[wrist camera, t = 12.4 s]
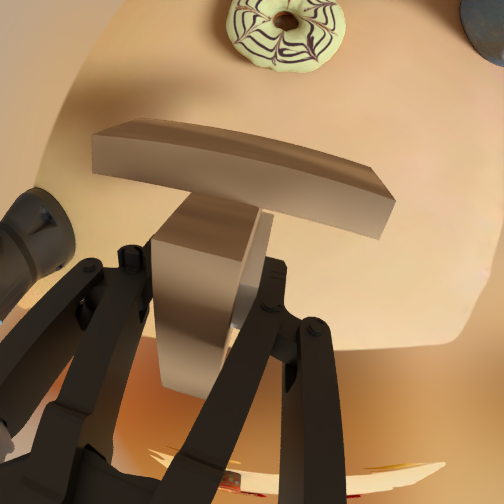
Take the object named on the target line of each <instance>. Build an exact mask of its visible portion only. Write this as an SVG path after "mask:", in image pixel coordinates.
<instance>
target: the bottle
mask: <svg viewBox="0 0 504 504" xmlns="http://www.w3.org/2000/svg"><path fill="white" fill-rule="evenodd" d="M460 16H461V21H462V24H463V27H464V30H465V32H466V34H467V36H468V38H469V40H470V41H471V43H472V45H473V46H474V47H475V49H476V50H477V51H478V52H479V53H480V54H481V55H482V56H483V57H484V58H485V59H487V60H488V61H489V62H491V63H493V64H495V65H497V66H501V67H504V0H462V1H461V5H460Z"/></svg>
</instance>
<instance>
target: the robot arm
mask: <svg viewBox="0 0 504 504" xmlns="http://www.w3.org/2000/svg"><path fill="white" fill-rule="evenodd" d="M273 217H274V215H273V214H269V213H265V212H261V214H260V218H259V221H258V224H257V227H256V231H255V234H254V237H253V241H252V244H251V247H250V251H249V254H248V257H247V261H246V264H245V267H244V271H243V274H242V277H241V280H240V284H239V289H238V293H237V298H236V302H235V307H234V312H233V316H232V321H231V326H230V327H232V328H236V329H240V332H239V334H238V336H237V338H236V340H235V342H234V344H233V346H232V349H231V351H230V353H229V355H228V357H227V359H226V361H225V363H224V365H223V367H222V369H221V371H220V373H219V375H218V377H217V379H216V381H215V383H214V385H213V387H212V389H211V391H210V393H209V395H208V397H207V399H206V401H205V403H204V405H203V407H202V409H201V411H200V413H199V415H198V417H197V419H196V421H195V423H194V425H193V427H192V429H191V431H190V433H189V435H188V437H187V439H186V441H185V443H184V445H183V446H182V448H181V449H180V451H179V452H178V453H177V454H176V455H175V457H174V458H173V460H172V462H171V464H170V465H169V467H168V469H167V471H166V473H165V475H164V477H163V479H162V480H161V481H160V480H158V479H154V478H150V477H143V476H136V475H130V474H124V473H121V472H119V471H118V470H117V469H115V468H114V467H113V466H111V461H112V456H113V433H114V429H115V425H116V421H117V417H118V413H119V409H120V405H121V401H122V398H123V394H124V391H125V387H126V383H127V380H128V377H129V373H130V370H131V366H132V363H133V360H134V357H135V353H136V350H137V347H138V344H139V341H140V338H141V335H142V332H143V329H144V326H145V323H146V320H147V317H148V314H149V309H150V307H149V303H150V301H151V300H152V298H153V286H152V260H151V238H152V237H153V236H154V235H155V234H154V235H153V236H152V237H151V238H150V239H149V241H148V242H147V243H146V244H145V246H143V247H141V246H139V245H126V246H123V247H121V248H120V249H119V250H118V251H117V252H118V261H119V267H118V268H107V267H103V264H102V262H101V261H100V260H99V259H97V258H86V259H83V260H82V261H80V262H79V263H78V264H76V265H75V266H74V267H73V268H72V269H71V270H70V271H69V272H68V273H67V274H66V275H65V276H63V277H62V278H61V279H60V280H59V281H58V282H57V283H56V284H55V285H54V286H53V287H52V288H51V289H50V290H49V291H48V292H47V293H46V294H45V295H44V296H43V297H42V298H41V299H40V300H39V301H38V302H37V303H36V304H35V305H34V306H33V307H32V308H31V309H30V310H29V311H28V312H27V314H26V315H25V316H24V317H23V318H22V319H21V320H20V321H19V322H18V323H17V325H16V326H15V327H14V328H13V329H12V330H11V331H10V332H9V334H8V335H7V336H6V337H5V338H4V339H3V340H2V342H1V343H0V504H211V502H212V500H213V498H214V496H215V493H216V491H217V489H218V487H219V484H220V482H221V480H222V477H223V475H224V472H225V469H226V466H227V464H228V461H229V459H230V457H231V454H232V452H233V449H234V447H235V445H236V442H237V440H238V437H239V435H240V432H241V430H242V427H243V425H244V422H245V420H246V417H247V415H248V412H249V410H250V407H251V404H252V402H253V399H254V396H255V394H256V391H257V389H258V386H259V383H260V380H261V378H262V375H263V372H264V369H265V367H266V364H267V361H268V358H269V356H270V355H271V356H273V357H275V358H276V359H278V360H280V361H282V412H281V416H282V417H281V450H280V475H279V496H278V504H347V502H346V501H347V500H346V474H345V457H344V443H343V431H342V420H341V409H340V400H339V392H338V383H337V374H336V366H335V359H334V352H333V345H332V338H331V331H330V328H329V326H328V325H327V324H326V322H325V321H323V320H321V319H320V318H316V317H306V318H304V319H303V320H301V319H299V318H297V317H295V316H293V315H292V314H290V313H289V312H288V311H287V309H286V308H285V306H284V294H285V284H286V275H287V266H286V264H285V262H284V261H283V260H279V259H275V258H271V257H267V256H265V255H266V251H267V246H268V241H269V236H270V232H271V227H272V222H273ZM74 253H75V236H74V232H73V229H72V226H71V223H70V221H69V219H68V217H67V215H66V213H65V211H64V210H63V208H62V207H61V205H60V204H59V203H58V202H57V201H56V199H55V198H54V197H52V196H51V195H50V194H49V193H47V192H46V191H44V190H42V189H39V188H32V189H29V190H27V191H26V192H24V193H23V194H21V195H20V196H19V197H18V198H17V199H16V200H15V202H14V203H13V205H12V206H11V207H10V209H9V210H8V211H7V213H6V214H5V216H4V217H3V219H2V220H1V221H0V324H2V323H3V320H4V319H5V318H6V317H7V315H8V314H9V313H10V312H11V310H12V309H13V308H14V307H15V305H16V304H17V303H18V302H19V301H20V299H21V298H22V297H23V296H24V295H25V294H26V293H27V291H28V290H29V289H30V288H31V287H32V286H33V285H34V284H35V283H36V282H37V281H38V280H39V279H41V278H44V277H46V276H48V275H50V274H52V273H54V272H56V271H58V270H61V269H62V268H64V267H65V266H66V265H67V264H68V263H69V262H70V261H71V259H72V258H73V256H74ZM73 356H74V358H73V360H72V362H71V365H70V367H69V370H68V372H67V375H66V377H65V380H64V382H63V385H62V387H61V390H60V393H59V395H58V397H57V399H56V400H55V401H52V402H49V403H48V404H47V405H46V407H45V409H44V411H43V414H42V417H41V420H40V423H39V426H38V429H37V432H36V435H35V438H34V442H33V445H32V449H31V452H30V453H27V454H25V455H22V456H20V457H17V458H15V459H12V460H9V461H6V462H4V460H5V456H6V455H7V453H12V452H13V451H14V444H13V442H12V441H11V439H12V438H13V437H14V436H15V435H16V434H17V433H18V432H19V431H20V430H21V429H22V428H23V427H24V425H25V424H26V423H27V421H28V420H29V419H30V417H31V415H32V414H33V412H34V411H35V409H36V408H37V406H38V405H39V403H40V402H41V400H42V399H43V398H44V396H45V395H46V393H47V392H48V390H49V389H50V387H51V386H52V384H53V383H54V382H55V380H56V379H57V378H58V376H59V375H60V373H61V372H62V371H63V369H64V368H65V367H66V365H67V364H68V362H69V361H70V360H71V358H72V357H73Z"/></svg>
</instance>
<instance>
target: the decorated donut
mask: <svg viewBox="0 0 504 504" xmlns="http://www.w3.org/2000/svg"><path fill="white" fill-rule="evenodd" d="M282 15H292V16H294V17H295V18H296V19H297V21H298V22H299V25H298V28H296V29H293V30H288V31H287V32H286V31H284V30H282V29H280V28H277V27H276V26H275V25H274V21H275V19H276V18H277V17H278V16H282ZM345 29H346V23H345V19H344V15H343V11H342V9H341V7H340V6H339V5H338V3H337V2H336V1H335V0H232V3H231V6H230V10H229V13H228V17H227V20H226V30H227V34H228V36H229V39H230V40H231V42H232V44H233V46H234V47H235V49H236V50H237V51H238V52H239V53H240V54H242V55H243V56H245V57H246V58H247V59H248V60H249V61H250V62H252V63H253V64H255V65H257V66H259V67H262V68H266V69H271V70H274V71H276V72H282V71H290V72H297V73H306V72H311V71H313V70H316V69H317V68H319V67H320V66H321V65H322V64H323V63H325V62H326V61H328V60H329V59H330V58H331V57H332V55H333V54H334V53H335V52H336V51H337V49H338V48H339V46H340V45H341V42H342V40H343V37H344V34H345Z"/></svg>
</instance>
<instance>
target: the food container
mask: <svg viewBox="0 0 504 504" xmlns="http://www.w3.org/2000/svg"><path fill="white" fill-rule="evenodd" d="M240 484H241V475H240V474H238V473H235V472H231V471H225V472H224V475H223V477H222V480H221V482H220V484H219V487H218V489H217V490H222V491H226V492H232V493H239V492H241V490H240Z"/></svg>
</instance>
